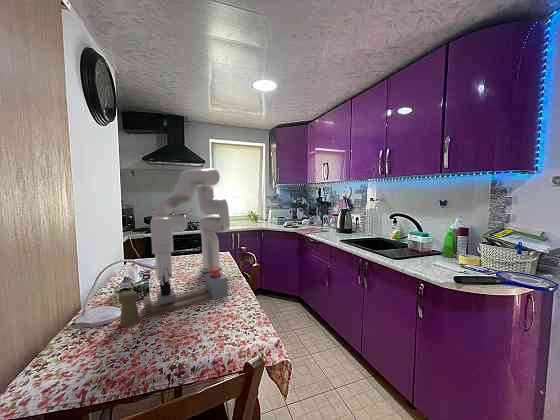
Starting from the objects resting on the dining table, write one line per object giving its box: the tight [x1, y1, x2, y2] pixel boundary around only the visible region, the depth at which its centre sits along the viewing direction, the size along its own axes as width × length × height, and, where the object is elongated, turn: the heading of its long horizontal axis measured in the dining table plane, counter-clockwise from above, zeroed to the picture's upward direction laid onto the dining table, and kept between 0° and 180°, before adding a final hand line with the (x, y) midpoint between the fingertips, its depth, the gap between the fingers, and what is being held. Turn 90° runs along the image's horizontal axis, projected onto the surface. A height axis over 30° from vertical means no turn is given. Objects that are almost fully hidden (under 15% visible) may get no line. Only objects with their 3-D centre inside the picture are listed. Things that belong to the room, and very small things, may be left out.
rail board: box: [143, 288, 212, 318], centre depth 96 cm, size 10×24×4 cm, turn 124°
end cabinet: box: [204, 271, 229, 300], centre depth 105 cm, size 10×7×8 cm
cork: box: [119, 290, 141, 328], centre depth 82 cm, size 6×6×11 cm
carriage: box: [156, 281, 177, 305], centre depth 94 cm, size 7×6×8 cm
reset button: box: [209, 267, 222, 278], centre depth 105 cm, size 5×5×4 cm
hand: (165, 292), depth 94 cm, fingers closed on carriage, 2 cm apart
